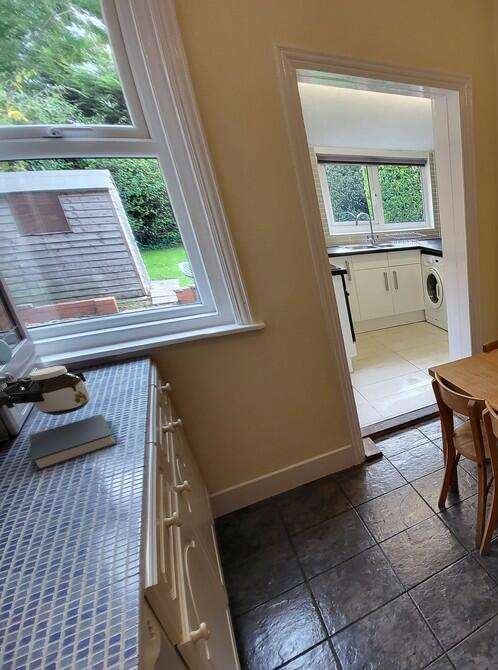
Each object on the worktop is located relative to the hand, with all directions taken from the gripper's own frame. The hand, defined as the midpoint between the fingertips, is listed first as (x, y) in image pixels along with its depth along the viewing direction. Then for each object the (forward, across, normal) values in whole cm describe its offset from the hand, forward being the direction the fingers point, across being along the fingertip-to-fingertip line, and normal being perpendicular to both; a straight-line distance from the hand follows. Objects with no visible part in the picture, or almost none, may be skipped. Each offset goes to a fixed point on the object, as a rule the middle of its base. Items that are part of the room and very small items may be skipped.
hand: (63, 386), depth 111 cm
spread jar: (-2, 0, -7) cm, 7 cm away
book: (+8, +12, -12) cm, 19 cm away
